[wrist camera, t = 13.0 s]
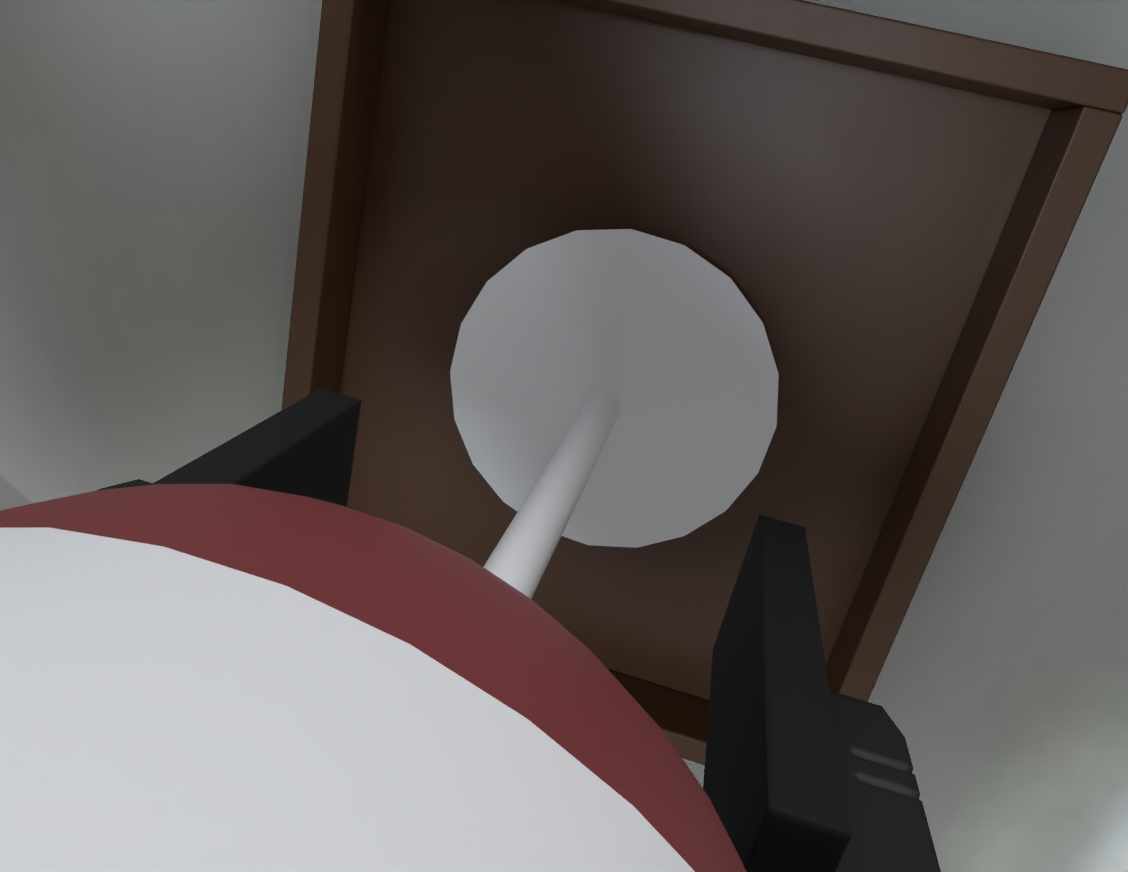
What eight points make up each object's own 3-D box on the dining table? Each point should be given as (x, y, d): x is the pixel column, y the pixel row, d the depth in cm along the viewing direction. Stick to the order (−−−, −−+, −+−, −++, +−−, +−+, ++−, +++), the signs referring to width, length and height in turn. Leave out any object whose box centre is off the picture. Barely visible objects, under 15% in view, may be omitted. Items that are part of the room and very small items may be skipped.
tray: (378, -72, 21) (330, -101, 19) (1092, 81, 19) (1142, 72, 17) (301, 581, 28) (259, 621, 26) (815, 744, 26) (823, 805, 24)
